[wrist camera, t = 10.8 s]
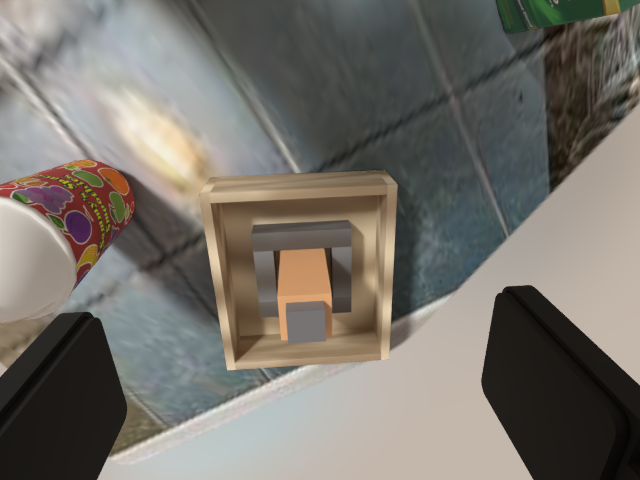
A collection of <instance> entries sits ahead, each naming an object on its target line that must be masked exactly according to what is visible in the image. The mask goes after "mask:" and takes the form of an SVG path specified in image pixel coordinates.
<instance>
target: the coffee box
mask: <svg viewBox="0 0 640 480" xmlns="http://www.w3.org/2000/svg"><path fill="white" fill-rule="evenodd" d="M496 3H497V7H498V12H499V15H500V18H501V20H502V24H503V27H504V31H505V34H509V33H518V32H523V31H527V30H535V29H540V28H545V27H550V26H555V25H561V24H566V23H571V22H577V21H582V20H587V19H592V18H597V17H602V16H607V15H612V14H618V13H622V12H624V11H626V10H628V9H629V8H631V7H633V6H635V5H637V4H639V3H640V0H496Z"/></svg>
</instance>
